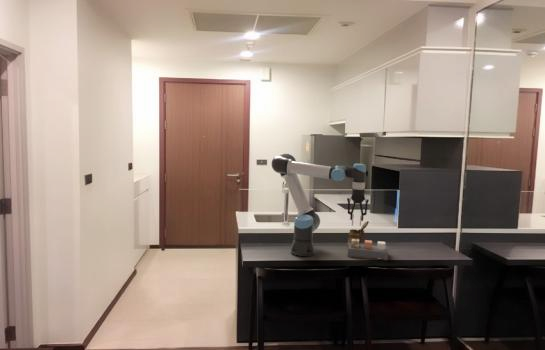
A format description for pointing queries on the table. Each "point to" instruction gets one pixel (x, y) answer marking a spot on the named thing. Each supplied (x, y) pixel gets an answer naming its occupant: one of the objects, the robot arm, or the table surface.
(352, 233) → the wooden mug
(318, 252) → the table surface
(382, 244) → the white key
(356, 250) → the key console
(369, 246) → the terracotta key
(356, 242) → the birch key
